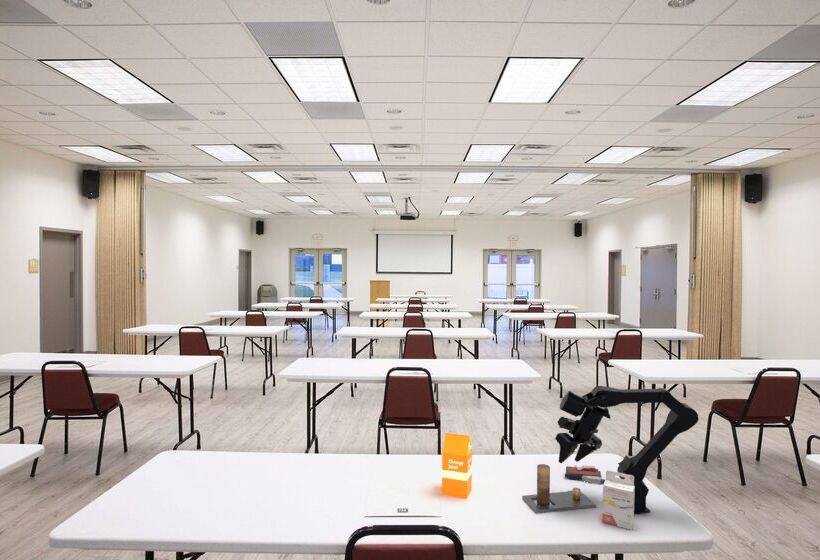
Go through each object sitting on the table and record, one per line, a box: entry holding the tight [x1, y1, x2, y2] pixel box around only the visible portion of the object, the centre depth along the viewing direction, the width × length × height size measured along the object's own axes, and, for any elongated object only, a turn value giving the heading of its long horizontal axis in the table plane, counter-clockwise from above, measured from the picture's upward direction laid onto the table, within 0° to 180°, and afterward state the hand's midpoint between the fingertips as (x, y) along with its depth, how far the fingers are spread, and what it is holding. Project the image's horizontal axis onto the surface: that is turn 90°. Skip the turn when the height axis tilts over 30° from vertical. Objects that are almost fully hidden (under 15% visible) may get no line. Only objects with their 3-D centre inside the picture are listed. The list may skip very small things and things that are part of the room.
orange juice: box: [441, 432, 473, 499], centre depth 166 cm, size 8×9×20 cm
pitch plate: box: [521, 487, 597, 514], centre depth 159 cm, size 10×21×4 cm, turn 101°
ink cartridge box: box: [601, 470, 635, 531], centre depth 147 cm, size 9×5×15 cm, turn 59°
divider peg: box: [536, 463, 551, 507], centre depth 158 cm, size 4×4×12 cm
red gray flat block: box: [564, 464, 606, 485], centre depth 178 cm, size 9×4×20 cm
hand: (568, 461), depth 162 cm, fingers open, 9 cm apart
